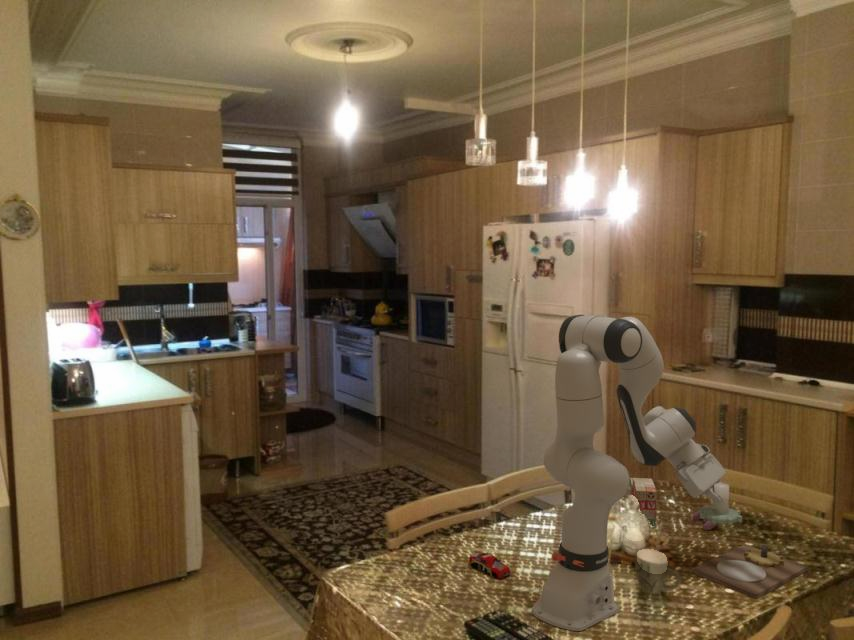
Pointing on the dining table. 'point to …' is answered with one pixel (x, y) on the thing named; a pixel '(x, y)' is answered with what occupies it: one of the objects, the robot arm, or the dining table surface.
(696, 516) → the purple curved piece
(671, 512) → the dining table surface
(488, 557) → the race car
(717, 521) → the loose gear
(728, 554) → the gear board
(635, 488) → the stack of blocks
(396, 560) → the dining table surface
